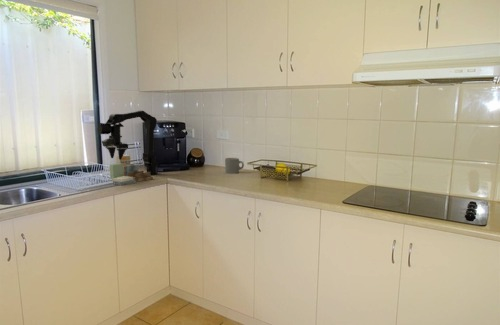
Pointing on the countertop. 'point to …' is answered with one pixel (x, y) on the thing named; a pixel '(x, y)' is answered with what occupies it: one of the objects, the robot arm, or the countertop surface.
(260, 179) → the countertop surface
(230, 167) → the coffee mug
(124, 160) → the supplement box
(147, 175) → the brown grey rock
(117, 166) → the sage book
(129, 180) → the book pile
